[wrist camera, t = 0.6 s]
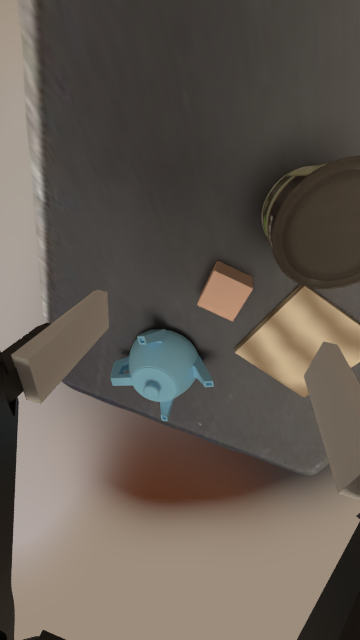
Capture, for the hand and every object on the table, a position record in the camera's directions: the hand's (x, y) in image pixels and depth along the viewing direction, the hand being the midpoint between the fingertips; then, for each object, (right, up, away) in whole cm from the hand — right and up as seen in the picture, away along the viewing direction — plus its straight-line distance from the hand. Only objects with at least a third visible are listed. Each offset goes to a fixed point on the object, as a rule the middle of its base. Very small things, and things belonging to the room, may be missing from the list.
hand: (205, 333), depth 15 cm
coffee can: (+15, +15, +17) cm, 27 cm away
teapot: (-4, -6, +34) cm, 35 cm away
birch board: (+19, -3, +26) cm, 33 cm away
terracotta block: (+6, +7, +24) cm, 26 cm away
